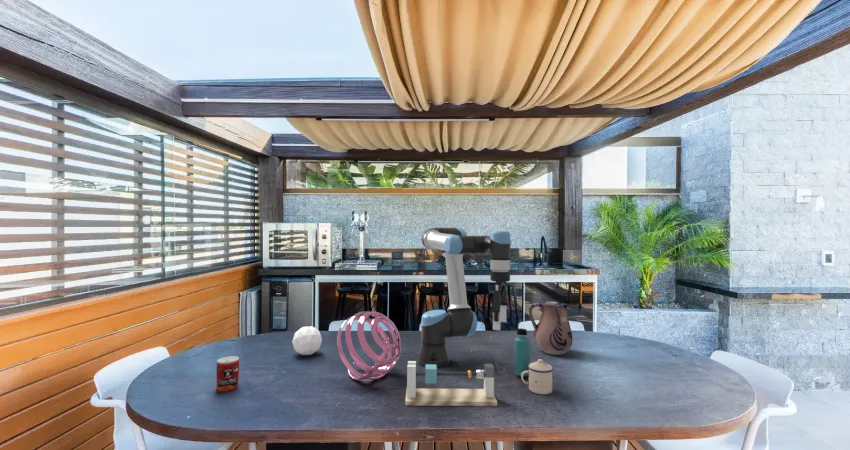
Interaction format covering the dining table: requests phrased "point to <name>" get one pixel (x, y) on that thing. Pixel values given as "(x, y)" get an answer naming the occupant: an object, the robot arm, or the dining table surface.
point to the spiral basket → (384, 345)
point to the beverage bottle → (522, 353)
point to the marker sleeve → (430, 373)
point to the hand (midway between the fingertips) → (499, 325)
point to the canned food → (227, 373)
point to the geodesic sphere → (307, 340)
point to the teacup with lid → (539, 377)
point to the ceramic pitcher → (552, 328)
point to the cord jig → (451, 390)
